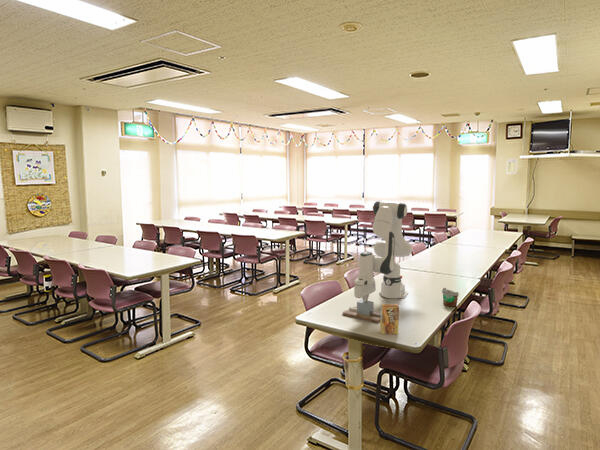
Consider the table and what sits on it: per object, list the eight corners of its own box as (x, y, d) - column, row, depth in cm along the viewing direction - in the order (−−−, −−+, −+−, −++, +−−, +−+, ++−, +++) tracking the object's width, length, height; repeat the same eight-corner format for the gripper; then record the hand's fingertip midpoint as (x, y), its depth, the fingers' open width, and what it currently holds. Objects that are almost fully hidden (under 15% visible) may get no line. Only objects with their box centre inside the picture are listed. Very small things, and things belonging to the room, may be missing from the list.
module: (361, 310, 239) (361, 299, 238) (373, 313, 234) (373, 301, 233) (356, 313, 234) (356, 301, 233) (368, 316, 229) (368, 304, 228)
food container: (437, 303, 258) (437, 288, 257) (444, 302, 261) (445, 287, 259) (450, 308, 247) (451, 293, 246) (458, 307, 249) (458, 292, 248)
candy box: (396, 331, 210) (396, 303, 208) (398, 334, 206) (399, 306, 204) (379, 331, 209) (380, 303, 208) (381, 334, 205) (382, 306, 203)
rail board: (354, 308, 247) (354, 304, 246) (387, 316, 233) (388, 311, 232) (342, 314, 236) (342, 310, 235) (377, 323, 222) (377, 318, 221)
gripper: (369, 275, 242) (368, 297, 243) (352, 281, 225) (352, 305, 227) (378, 276, 238) (378, 298, 239) (362, 283, 222) (361, 307, 223)
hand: (365, 302), depth 233 cm, fingers closed, pressing on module
